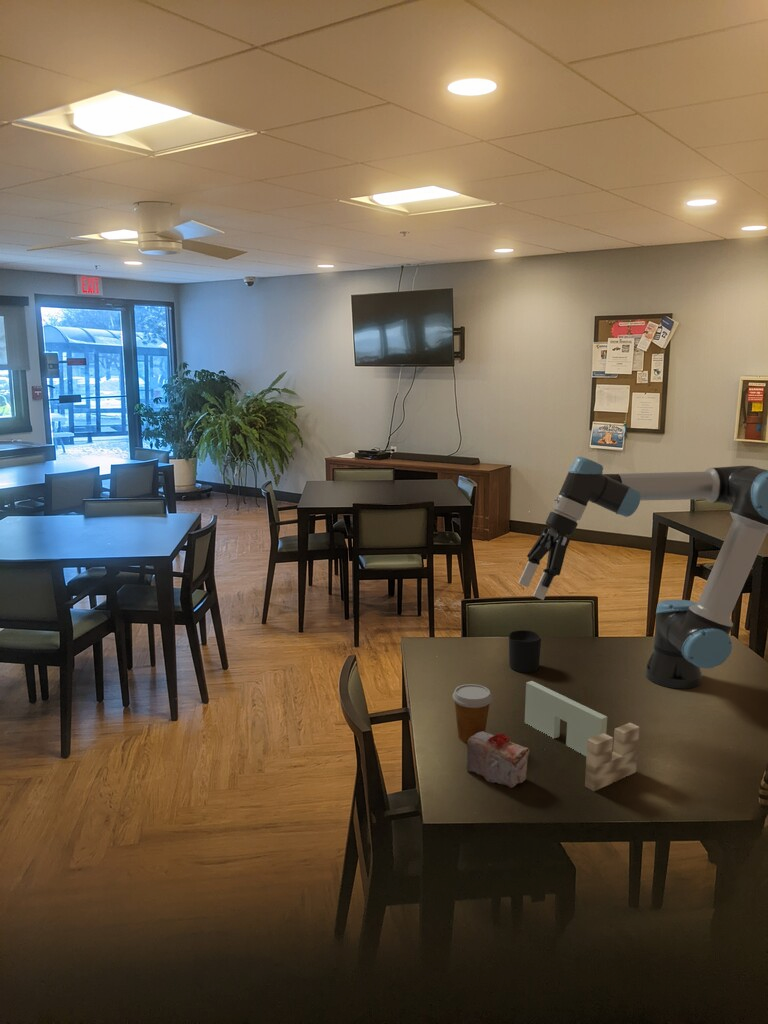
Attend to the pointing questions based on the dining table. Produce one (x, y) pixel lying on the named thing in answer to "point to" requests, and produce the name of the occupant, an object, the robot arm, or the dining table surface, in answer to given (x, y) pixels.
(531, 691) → the sage slotted plate
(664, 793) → the dining table surface
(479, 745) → the food item
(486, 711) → the disposable coffee cup
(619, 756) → the birch slotted plate
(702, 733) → the dining table surface
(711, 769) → the dining table surface
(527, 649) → the pen holder
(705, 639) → the robot arm
